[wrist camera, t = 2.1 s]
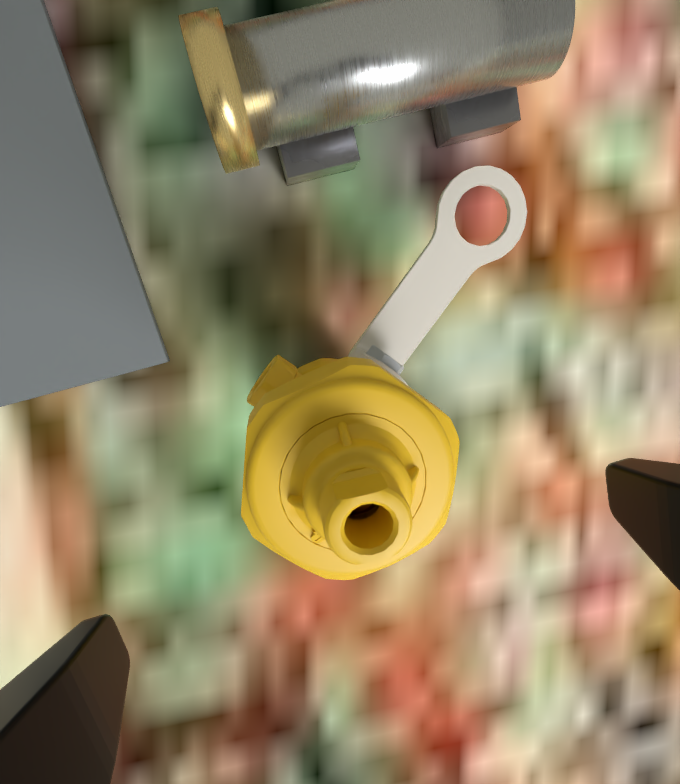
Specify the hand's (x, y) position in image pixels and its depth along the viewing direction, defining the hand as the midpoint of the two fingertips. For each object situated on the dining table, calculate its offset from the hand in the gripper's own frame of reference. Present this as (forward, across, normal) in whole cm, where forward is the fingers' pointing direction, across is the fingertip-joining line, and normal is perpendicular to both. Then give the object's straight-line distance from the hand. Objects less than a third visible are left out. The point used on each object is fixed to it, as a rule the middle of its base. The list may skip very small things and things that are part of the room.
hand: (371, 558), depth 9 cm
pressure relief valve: (+11, -3, -2) cm, 12 cm away
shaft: (+11, -4, -10) cm, 15 cm away
